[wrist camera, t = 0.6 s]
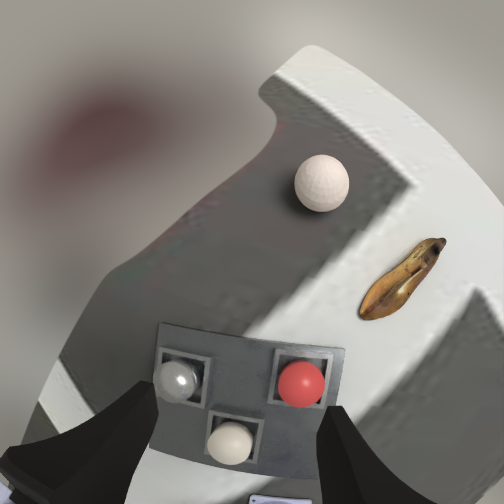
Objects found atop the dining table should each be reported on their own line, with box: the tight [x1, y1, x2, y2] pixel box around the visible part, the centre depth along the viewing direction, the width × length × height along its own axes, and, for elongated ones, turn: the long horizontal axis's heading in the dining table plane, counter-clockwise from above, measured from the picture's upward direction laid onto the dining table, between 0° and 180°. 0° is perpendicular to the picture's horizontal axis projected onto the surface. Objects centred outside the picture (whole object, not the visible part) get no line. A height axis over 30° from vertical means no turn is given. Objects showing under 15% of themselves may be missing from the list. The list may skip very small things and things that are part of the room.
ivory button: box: [207, 422, 253, 465], centre depth 25 cm, size 4×4×2 cm
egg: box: [295, 155, 349, 212], centre depth 30 cm, size 6×6×8 cm
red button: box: [278, 360, 325, 407], centre depth 26 cm, size 4×4×2 cm
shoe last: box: [360, 238, 446, 320], centre depth 29 cm, size 4×14×5 cm, turn 125°
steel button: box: [153, 359, 200, 403], centre depth 27 cm, size 4×4×2 cm
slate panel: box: [149, 323, 345, 480], centre depth 28 cm, size 17×21×3 cm
